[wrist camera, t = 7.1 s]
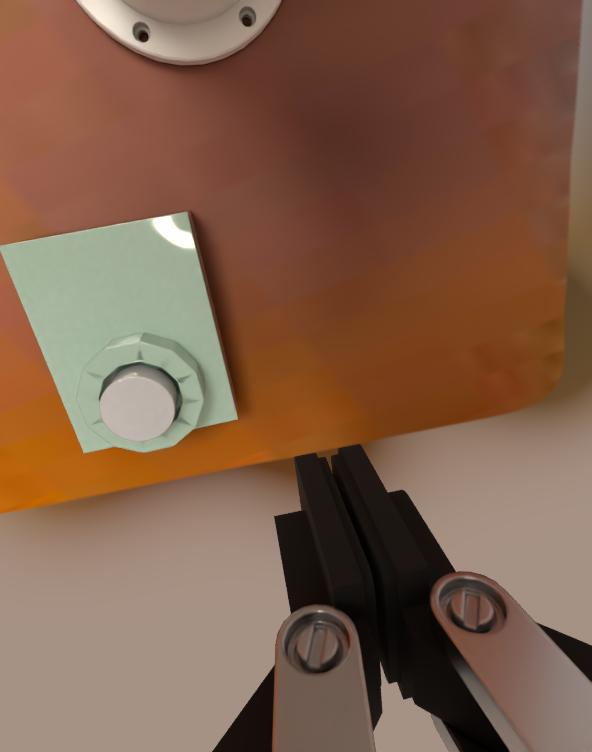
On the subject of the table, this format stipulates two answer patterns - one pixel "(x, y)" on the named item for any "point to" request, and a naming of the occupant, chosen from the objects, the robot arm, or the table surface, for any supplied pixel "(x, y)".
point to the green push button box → (125, 320)
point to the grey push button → (139, 403)
